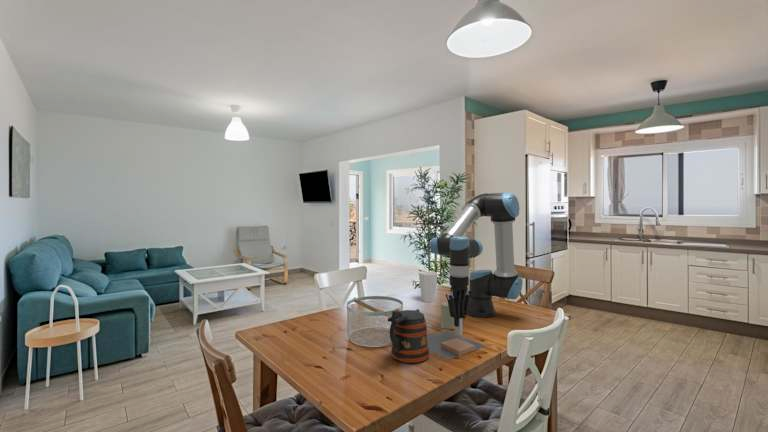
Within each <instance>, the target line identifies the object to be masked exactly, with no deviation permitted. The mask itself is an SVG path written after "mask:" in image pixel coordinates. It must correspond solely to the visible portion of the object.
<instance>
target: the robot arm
mask: <svg viewBox="0 0 768 432" xmlns="http://www.w3.org/2000/svg"><path fill="white" fill-rule="evenodd" d="M519 215H520V204H519V199H518V197H517V196H516V195H515V194H514V193H511V192H509V193H508V192H496V193H495V192H494V193H491V192H490V193H486V192H485V193H481V194H478V195H476V196H474V197H472V198H471V199H470V200H468V201H467V202H466V203H464V205H463V206H462V210H461V212H460V213H459V214H458V216H457V217H456V218H455V219H454V220H453V222H452V223H451V224H450V225H449V226H448V228H447V229H446V230H445V231H444V232H443V233H442V234H441V236H440V237H439V236H436V237H432V238H431V239H430V241H429V250H430V253H432V254H434V255H439V256H448V257H449V275H450V276H449V285H450V289H449V291H450V292H448V294H447V293H446V294H445V298H446V301H448V306H449V312H450V316H451V317H453V318H454V326H455V329H454V333H455V334H458V335H460V336H462V335H463V329H464V328H463V327H464V319H466V317H467V315H469V316H471V317H475V318H484V319H486V318H492V317H494V316H496V308H495V306H494V302H493V297H495V298H501V299H507V300H514V301H515V300H517V299H518V298H519V296H520V295H521V292H522V289H523V278H522V277H520V276H519V273H518V271H517V270H516V269H515V256H514V233H513V230H514V229H513V223H514V222H515V221H516V218H518V216H519ZM481 217H489V218H490V222H491V223H493V225H494V243H495V244H494V245H495V246H494V247H495V262H496V264H495V265H496V269H495V270H494V272H493V270H491V269H477V270H474V271H473V270H472V271H470V263H469V262H470V261H469V260H470V259H473V258H477V257H479V256H480V255H481V254H482V253H483V250H484V247H483V243H482V242H481V241H480V240H479V239H476V238H474V239H473V238H469V237H467V236H464V235H465V233H466V232H467V231H468V230H469V229H470V227H471V226H472V224H473V223H474V222H476V221H477V220H479V219H480V218H481ZM468 286H469V287H468ZM468 288H469V289H468Z"/></svg>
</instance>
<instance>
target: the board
mask: <svg viewBox="0 0 768 432" xmlns="http://www.w3.org/2000/svg"><path fill="white" fill-rule="evenodd" d="M454 338H458V339H460V340H463V341H465V342H468V343H470V344H472V345H475V350H474V351H477V350H480V349H482V348H486V347H487V345H484V344H483V343H480V342H478V341H474V340H473V339H469V338H467V337H465V336H462V335H458V334H456V333H455V332H452V331H450V330H449V329H448V330H444V331H441V332H437V333H434V334H431V335H427V343H428V348H429V352H430V353H433V354H436V355H437V356H440V357H442V358H443V359H445V360H447V361H448V360H452V359H456V358H457V357H460V356H459V355H457V354H455V353H452V352H450V351H448V350H446V349H444V348H442V347H441V343H442V342H445V341H448V340H451V339H454ZM471 352H473V351H471ZM471 352H468V353H471ZM468 353H465V354H464V355H466V354H468Z"/></svg>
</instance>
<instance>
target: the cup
mask: <svg viewBox="0 0 768 432" xmlns="http://www.w3.org/2000/svg"><path fill="white" fill-rule="evenodd" d="M418 276H419V277H418V278H419V286H420V294H421V297H420V298H421V301H422V302H424V303H433V302H435V295H436V288H437V280H438V279H437V278H438V272H435V271H430V270H425V271H423V270H422V271H420V272H419V271H418Z"/></svg>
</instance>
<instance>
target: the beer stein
mask: <svg viewBox="0 0 768 432" xmlns="http://www.w3.org/2000/svg"><path fill="white" fill-rule="evenodd" d="M391 312H392V313H391V317H388V318H387V322H389V323H390V325H389V326H390V327H389V337H390V341H391V350H390V351H391V352H390V356H391V357H392V359H394V360H396V361H397V362H401V363H404V364H405V363H406V364H418V363H422V362H425V361H427V360H428V359H429V355H430V353H429V352H430V351H429V348H428V343H427V336H428V334H427V333H428V328H427V320H426V318H425V314H424V313H423V312H421V311H420V309H419V308H417V309H416V310H414V309H413V310H412V309H406V310H405V309H404V310H400V311H399V310H392V311H391Z"/></svg>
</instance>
